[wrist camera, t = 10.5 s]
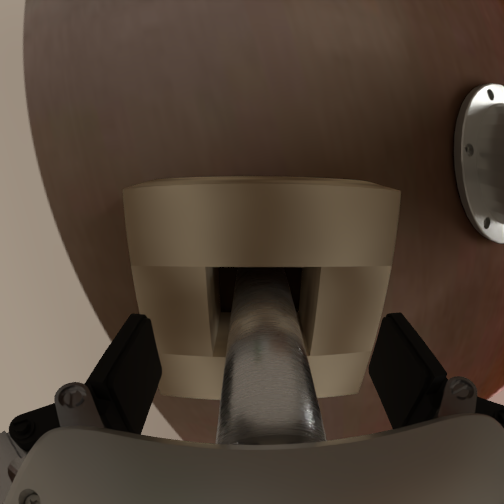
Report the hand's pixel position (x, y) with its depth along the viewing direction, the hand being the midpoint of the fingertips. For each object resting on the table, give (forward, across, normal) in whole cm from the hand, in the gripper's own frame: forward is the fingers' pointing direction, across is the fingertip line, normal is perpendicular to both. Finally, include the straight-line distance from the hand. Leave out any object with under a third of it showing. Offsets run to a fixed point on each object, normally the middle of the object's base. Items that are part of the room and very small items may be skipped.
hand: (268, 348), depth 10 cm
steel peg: (+7, 0, 0) cm, 7 cm away
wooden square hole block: (+7, 0, 0) cm, 7 cm away
